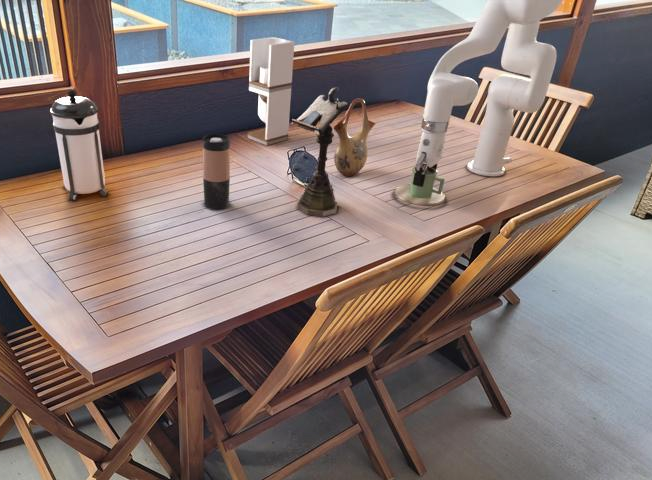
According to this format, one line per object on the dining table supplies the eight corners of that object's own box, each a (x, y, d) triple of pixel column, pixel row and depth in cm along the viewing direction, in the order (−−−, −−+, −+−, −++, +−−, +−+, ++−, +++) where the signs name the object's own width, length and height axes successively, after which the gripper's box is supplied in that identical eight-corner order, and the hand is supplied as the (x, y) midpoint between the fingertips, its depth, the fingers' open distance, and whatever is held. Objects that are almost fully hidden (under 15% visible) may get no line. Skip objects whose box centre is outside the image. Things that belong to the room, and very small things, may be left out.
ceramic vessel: (337, 182, 186) (347, 104, 172) (321, 173, 192) (329, 97, 178) (375, 174, 193) (388, 99, 179) (358, 165, 199) (369, 92, 185)
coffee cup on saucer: (387, 196, 175) (392, 171, 171) (406, 182, 186) (411, 157, 181) (434, 210, 168) (440, 183, 164) (451, 194, 179) (457, 169, 174)
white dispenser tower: (268, 132, 226) (273, 36, 207) (287, 139, 220) (294, 41, 200) (247, 137, 220) (250, 39, 200) (266, 145, 213) (271, 44, 194)
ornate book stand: (305, 225, 159) (317, 97, 139) (277, 208, 168) (284, 85, 148) (348, 212, 167) (365, 89, 147) (320, 196, 176) (332, 78, 156)
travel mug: (233, 201, 170) (234, 136, 159) (223, 211, 164) (224, 144, 153) (209, 197, 172) (208, 132, 161) (199, 207, 166) (197, 140, 155)
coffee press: (123, 186, 177) (112, 86, 160) (90, 205, 165) (75, 99, 148) (78, 176, 182) (63, 78, 166) (43, 193, 170) (23, 90, 154)
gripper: (436, 135, 157) (425, 192, 167) (457, 120, 169) (445, 174, 179) (411, 130, 161) (401, 186, 171) (433, 115, 172) (422, 169, 182)
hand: (423, 180), depth 175 cm, fingers open, 9 cm apart
